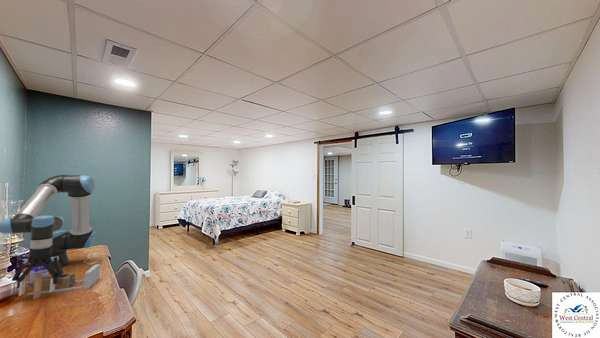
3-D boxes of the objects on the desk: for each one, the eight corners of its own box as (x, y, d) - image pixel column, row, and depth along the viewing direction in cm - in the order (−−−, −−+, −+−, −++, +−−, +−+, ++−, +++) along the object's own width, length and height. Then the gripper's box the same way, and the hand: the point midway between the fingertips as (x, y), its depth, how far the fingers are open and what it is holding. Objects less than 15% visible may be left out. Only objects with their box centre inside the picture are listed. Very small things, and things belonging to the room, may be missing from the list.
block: (41, 287, 126) (42, 275, 126) (74, 283, 131) (75, 272, 132) (31, 293, 119) (32, 281, 119) (67, 289, 124) (68, 278, 124)
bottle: (33, 288, 127) (36, 255, 128) (25, 286, 128) (28, 255, 129) (49, 282, 134) (52, 252, 135) (42, 281, 135) (45, 251, 136)
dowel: (34, 299, 116) (37, 275, 116) (41, 298, 117) (43, 274, 117) (31, 302, 113) (33, 277, 114) (38, 301, 114) (40, 276, 115)
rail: (38, 288, 127) (40, 269, 128) (98, 281, 138) (99, 264, 138) (22, 299, 115) (23, 278, 116) (88, 291, 126) (90, 272, 126)
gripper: (2, 251, 108) (-2, 300, 107) (67, 247, 117) (63, 292, 116) (14, 247, 115) (10, 292, 114) (74, 243, 124) (71, 285, 123)
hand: (37, 292), depth 115 cm, fingers open, 10 cm apart
